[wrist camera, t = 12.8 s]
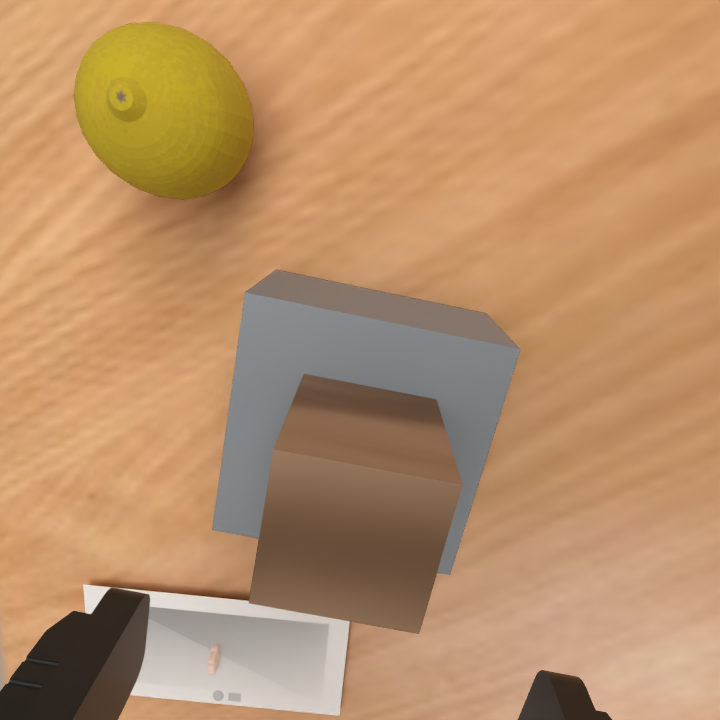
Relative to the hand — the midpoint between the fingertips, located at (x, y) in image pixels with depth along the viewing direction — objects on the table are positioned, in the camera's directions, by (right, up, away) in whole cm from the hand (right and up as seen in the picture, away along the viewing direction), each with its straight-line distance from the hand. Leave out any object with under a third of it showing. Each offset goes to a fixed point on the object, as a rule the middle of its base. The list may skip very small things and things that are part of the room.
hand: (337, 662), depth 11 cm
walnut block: (0, +3, +9) cm, 10 cm away
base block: (0, +5, +15) cm, 16 cm away
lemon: (-6, +16, +12) cm, 21 cm away
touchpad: (-8, -10, +21) cm, 25 cm away
